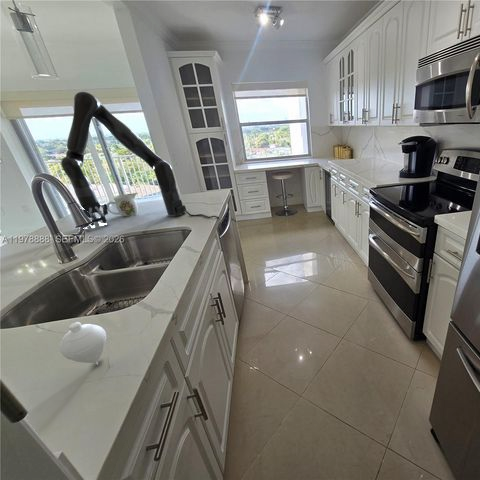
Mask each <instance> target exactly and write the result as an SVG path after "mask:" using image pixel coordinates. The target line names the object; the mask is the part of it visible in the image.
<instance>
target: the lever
mask: <svg viewBox="0 0 480 480" xmlns="http://www.w3.org/2000/svg"><path fill="white" fill-rule="evenodd" d="M91 217H92V218H93V220H92V218H91V220H92V221H93V223H94V222H101V221H102V220H103V218H102V217H101V216H99V217H97V216H96V217H95V216H94V215H92V216H91Z"/></svg>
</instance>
